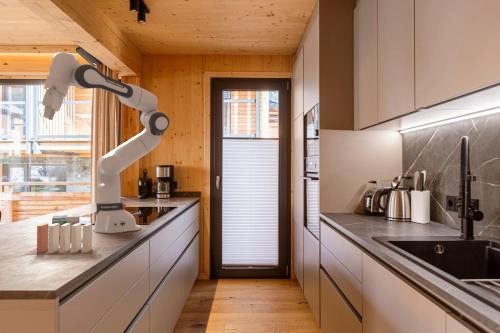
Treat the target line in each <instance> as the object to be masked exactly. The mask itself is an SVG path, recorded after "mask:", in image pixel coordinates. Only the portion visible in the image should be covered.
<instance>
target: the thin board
mask: <svg viewBox="0 0 500 333" xmlns="http://www.w3.org/2000/svg"><path fill="white" fill-rule="evenodd" d="M101 248H102V247H101V246H99V247H95V246H94V247H93V246H92V249H91V250H90V251H88V252H83V247H81V249H80V250H79V251H77V252H76V253H71V247H70V250H68V251H66V252H65V253H60V247H59V250H57V251H55V252H54V253H48V250H46V251H44V252H42V253H37V247H36V248H34V249H32V250H30V251H28V252H25V253H24V254H22V256H53V255H55V256H58V255H59V256H61V255H63V256H65V255H67V256H68V255H69V256H71V255H74V256H75V255H93V254H94V253H96V252H97V251H98V250H100V249H101Z"/></svg>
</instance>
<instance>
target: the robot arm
mask: <svg viewBox="0 0 500 333" xmlns="http://www.w3.org/2000/svg"><path fill="white" fill-rule="evenodd" d="M70 86H73V87H74V88H77V89H80V90H87V89H100V90H103V91H106V92H108V93H112V94H113V95H116V96H117V97H118V100H119V102H120V103H122V104H123V105H125V106H127V107H130V108H133V109H135V110H138V112H139V113H138V120H139V122H140V124H141V125H142V126H143V127H144V129H143V130H142V131H141V132H140V133H138V134H137V135H135V136H133V137H131V138H130V139H128V140H127V141H125V142H123V143H121V144H120V145H119V146H118V147H116V148H115V149H112V150H111V151H109V152H108V153H106V154H104V155H102V156H100V157H99V158H98V160H97V162H96V185H97V192H96V194H97V196H96V203H95V214H96V215H95V216H96V217H95V222H94V226H93V228H92V232H95V233H101V234H102V233H103V234H114V233H116V234H117V233H124V232H131V231H132V232H133V231H139V230H141V226H140V224H137V223H136V218H135V216H134V215H133V214H132V213H130V212H129V211H127V210H126V209H125V208H127V204H126V203H123V202H121V195H122V194H121V193H122V192H121V188H122V187H121V177H120V176H121V174H120V173H121V172H123V171H124V170H126V169H127V168H129V167H131V165H132V164H134V163H135V162H136V161H138V160H140V159H141V158H142V157H144V156H146V155H147V154H149V153H151V151H153V150H154V149H156V148H157V147H158V145H159V144H161V143H162V137H161V136H162V135H164V133H165V132H166V131H167V130H168V128H169V127H170V119H169V117H168V115H166V114H165V113H164V112H162V111H160V110H158V108H157V106H158V103H159V102H158V101H159V100H158V97H157V96H156V95H155V94H154V93H152V92H151V91H149V90H147V89H145V88H142V87H141V86H137V85H134V84H131V83H126V82H123V81H119V80H117V79H116V78H115V79H114V78H112V77H110V76H108V75H106V74H104V73H102V71H100V70H99V69H98V68H97V67H95V66H94V65H92V64H88V63H87V64H86V63H85V64H82V63H81V62H80V61H79V60H78V59H77V57H76V56H75V55H74V54H72V53H70V52H64V51H60V52H56V53H55V54H54V55H53V57H52V59H51V63H50V65H49V73H48V75H47V76H46V78H45V84H44V86H43V89H44V90H45V93H44V95H43V96H44V97H42V98H43V99H42V102H41V103H42V106H44V109H43V110H44V111H43V118H45V119H47V120H50V121H53V120H54V119H53V118H54V117H55V114H56V112H59V111H60V110H61V107H62V105H63V102H64V100H65V98H66V97H67V95H68V91H69V89H70Z"/></svg>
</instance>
